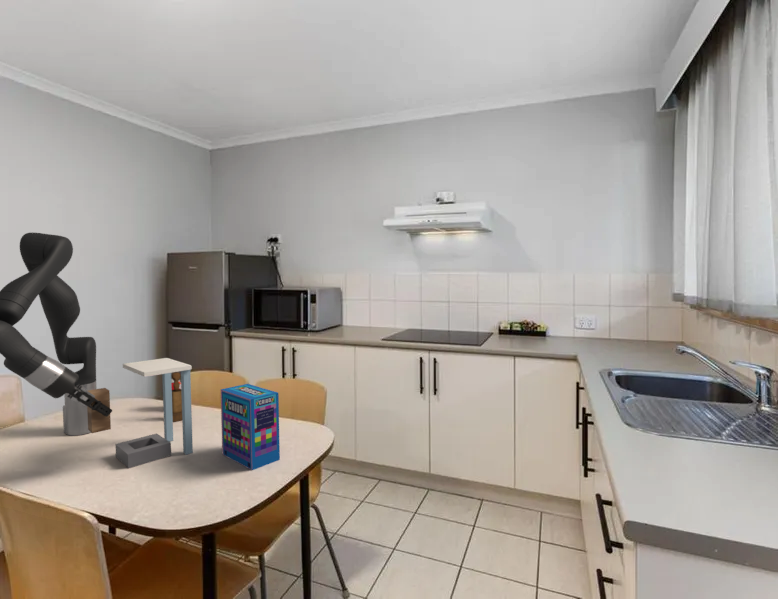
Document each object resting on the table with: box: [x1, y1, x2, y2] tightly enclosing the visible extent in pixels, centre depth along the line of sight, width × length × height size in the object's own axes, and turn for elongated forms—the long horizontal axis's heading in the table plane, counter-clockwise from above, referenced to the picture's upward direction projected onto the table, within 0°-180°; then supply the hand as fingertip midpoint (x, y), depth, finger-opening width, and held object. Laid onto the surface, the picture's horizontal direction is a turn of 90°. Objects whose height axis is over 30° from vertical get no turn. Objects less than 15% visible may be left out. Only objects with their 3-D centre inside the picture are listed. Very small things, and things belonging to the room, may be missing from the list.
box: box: [220, 383, 281, 471], centre depth 127 cm, size 17×9×20 cm, turn 49°
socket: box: [115, 433, 172, 469], centre depth 128 cm, size 12×12×4 cm
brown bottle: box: [171, 371, 182, 423], centre depth 162 cm, size 7×6×18 cm
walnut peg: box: [87, 387, 112, 434], centre depth 119 cm, size 4×4×11 cm
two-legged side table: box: [122, 357, 194, 455], centre depth 131 cm, size 13×19×27 cm
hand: (106, 411), depth 121 cm, fingers closed on walnut peg, 4 cm apart
